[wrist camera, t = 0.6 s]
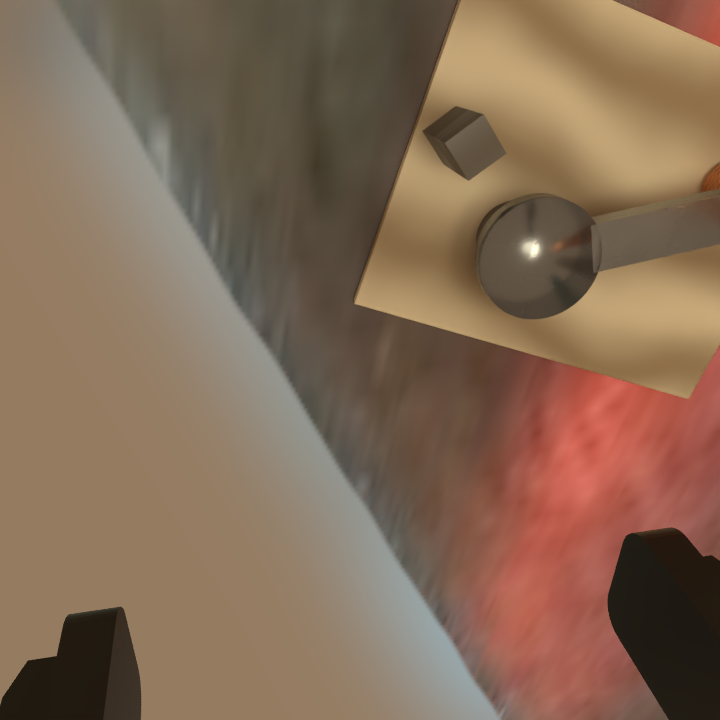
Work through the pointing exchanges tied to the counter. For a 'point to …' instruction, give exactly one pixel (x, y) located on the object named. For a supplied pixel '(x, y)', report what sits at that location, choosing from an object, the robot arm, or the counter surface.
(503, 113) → the hub board
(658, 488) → the counter surface
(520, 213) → the lever
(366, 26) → the counter surface
